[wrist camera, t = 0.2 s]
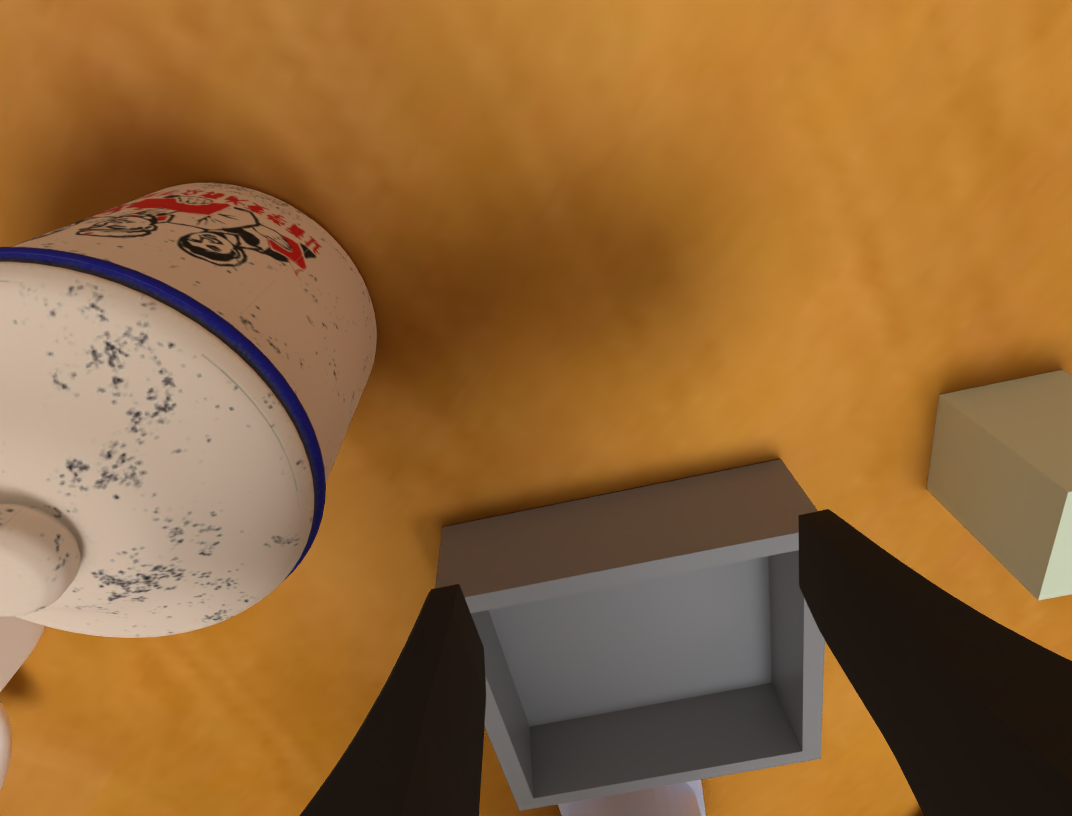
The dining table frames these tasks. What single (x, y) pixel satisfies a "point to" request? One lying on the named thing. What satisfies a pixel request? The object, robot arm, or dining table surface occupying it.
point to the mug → (13, 671)
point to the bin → (644, 635)
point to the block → (1011, 474)
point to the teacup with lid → (171, 407)
